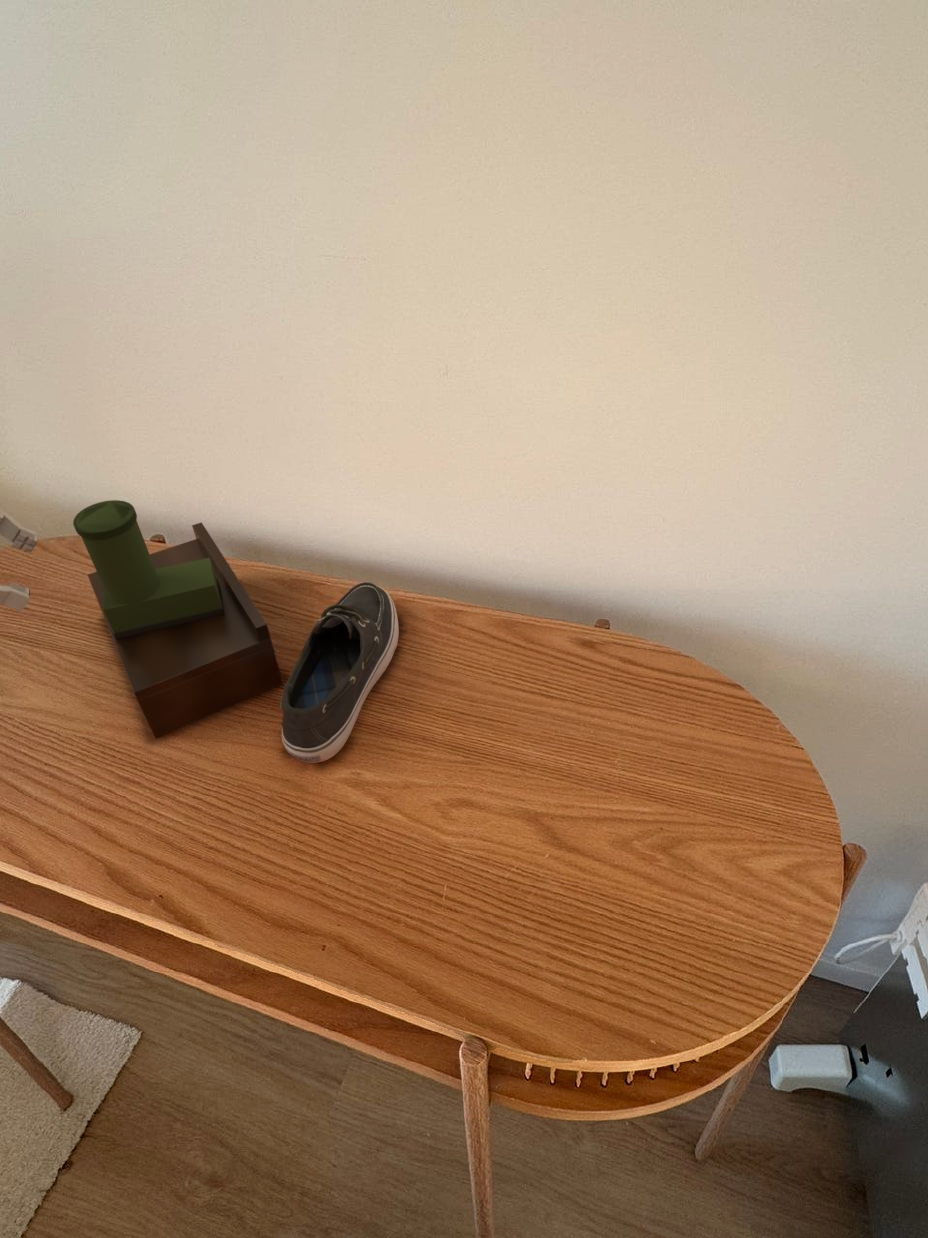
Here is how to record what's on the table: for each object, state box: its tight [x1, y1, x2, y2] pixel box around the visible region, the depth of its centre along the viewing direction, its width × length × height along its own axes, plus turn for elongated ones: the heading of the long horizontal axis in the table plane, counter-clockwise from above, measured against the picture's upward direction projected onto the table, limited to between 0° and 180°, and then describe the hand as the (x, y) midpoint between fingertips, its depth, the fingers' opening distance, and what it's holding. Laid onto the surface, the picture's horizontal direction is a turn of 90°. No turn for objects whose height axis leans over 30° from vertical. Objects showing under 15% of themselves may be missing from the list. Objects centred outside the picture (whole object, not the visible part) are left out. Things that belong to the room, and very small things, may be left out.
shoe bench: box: [87, 521, 284, 739], centre depth 82 cm, size 14×22×9 cm, turn 32°
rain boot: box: [72, 499, 224, 639], centre depth 75 cm, size 11×6×13 cm, turn 110°
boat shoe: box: [279, 582, 400, 764], centre depth 79 cm, size 26×9×8 cm, turn 165°
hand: (31, 570), depth 71 cm, fingers open, 8 cm apart
